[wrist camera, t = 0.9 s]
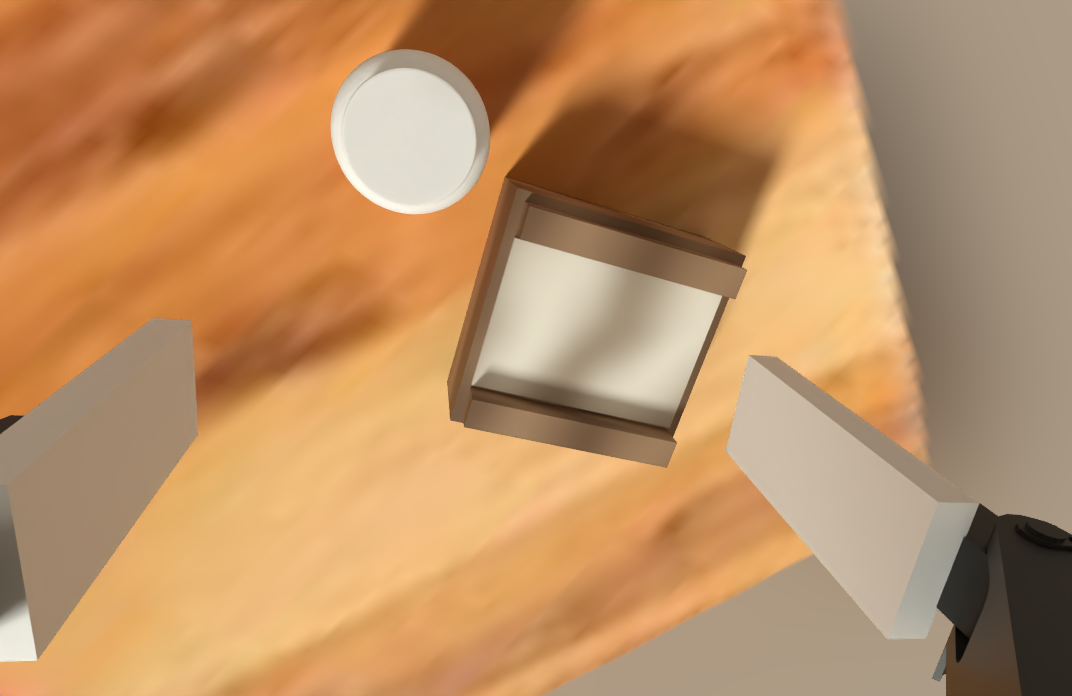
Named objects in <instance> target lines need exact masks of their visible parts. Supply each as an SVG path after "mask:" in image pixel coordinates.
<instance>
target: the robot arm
mask: <svg viewBox="0 0 1072 696" xmlns="http://www.w3.org/2000/svg"><path fill="white" fill-rule="evenodd" d="M197 435H198V421H197V404H196V388H195V371H194V354H193V337H192V321H191V320H175V319H159V318H153V319H151V320H150V321H149V322H147V323H146V324H145V325H143V326H142V327H141V328H140V329H138V330H137V331H136V332H134V333H133V334H132V335H130V336H129V337H128V338H126V339H125V340H124V341H122V342H121V343H120V344H118V345H117V346H116V347H114V348H113V349H112V350H111V351H109V352H108V353H107V354H105V355H104V356H103V357H101V358H100V359H99V360H97V361H96V362H95V363H93V364H92V365H91V366H89V367H88V368H87V369H86V370H84V371H83V372H82V373H80V374H79V375H78V376H76V377H75V378H74V379H72V380H71V381H70V382H68V383H67V384H66V385H64V386H63V387H62V388H61V389H59V390H58V391H57V392H55V393H54V394H53V395H51V396H50V397H49V398H47V399H46V400H45V401H43V402H42V403H41V404H39V405H38V406H37V407H36V408H34V409H33V410H32V411H30V412H29V413H28V414H26V415H25V416H14V415H10V416H8V417H5V418H3V419H0V661H37V660H38V659H39V657H40V656H41V655H42V653H43V652H44V650H45V649H46V648H47V646H48V645H49V643H50V642H51V640H52V639H53V638H54V636H55V635H56V633H57V632H58V631H59V629H60V628H61V626H62V625H63V624H64V622H65V621H66V619H67V618H68V617H69V615H70V614H71V612H72V611H73V610H74V608H75V607H76V605H77V604H78V603H79V601H80V600H81V598H82V597H83V595H84V594H85V593H86V591H87V590H88V588H89V587H90V586H91V584H92V583H93V581H94V580H95V579H96V577H97V576H98V574H99V573H100V572H101V570H102V569H103V567H104V566H105V565H106V563H107V562H108V560H109V559H110V557H111V556H112V555H113V553H114V552H115V550H116V549H117V548H118V546H119V545H120V543H121V542H122V541H123V539H124V538H125V536H126V535H127V534H128V532H129V531H130V529H131V528H132V527H133V525H134V524H135V522H136V521H137V520H138V518H139V517H140V515H141V514H142V512H143V511H144V510H145V508H146V507H147V505H148V504H149V503H150V501H151V500H152V498H153V497H154V496H155V494H156V493H157V491H158V490H159V489H160V487H161V486H162V484H163V483H164V482H165V480H166V479H167V477H168V476H169V474H170V473H171V472H172V470H173V469H174V467H175V466H176V465H177V463H178V462H179V460H180V459H181V458H182V456H183V455H184V453H185V452H186V451H187V449H188V448H189V446H190V445H191V444H192V442H193V441H194V439H195V438H196V437H197ZM726 452H727V453H728V455H729V456H730V457H731V458H732V459H733V460H734V462H735V463H736V464H737V465H738V466H739V467H740V468H741V470H742V471H743V472H744V473H745V474H746V475H747V477H748V478H749V479H750V480H751V481H752V482H753V484H754V485H755V486H756V487H757V488H758V489H759V491H760V492H761V493H762V494H763V495H764V496H765V498H766V499H767V500H768V501H769V502H770V503H771V505H772V506H773V507H774V508H775V509H776V510H777V512H778V513H779V514H780V515H781V516H782V517H783V519H784V520H785V521H786V522H787V523H788V524H789V525H790V527H791V528H792V529H793V530H794V531H795V532H796V534H797V535H798V536H799V537H800V538H801V539H802V541H803V542H804V543H805V544H806V545H807V546H808V548H809V549H810V550H811V551H812V552H813V553H814V555H815V556H816V557H817V558H818V559H819V560H820V562H821V563H822V564H823V565H824V566H825V567H826V568H827V570H828V571H829V572H830V573H831V574H832V575H833V577H834V578H835V579H836V580H837V581H838V582H839V584H840V585H841V586H842V587H843V588H844V589H845V591H846V592H847V593H848V594H849V595H850V596H851V598H852V599H853V600H854V601H855V602H856V603H857V605H858V606H859V607H860V608H861V609H862V610H863V612H864V613H865V614H866V615H867V616H868V617H869V619H870V620H871V621H872V622H873V623H874V624H875V626H876V627H877V628H878V629H879V630H880V631H881V632H882V634H883V635H884V636H885V637H886V638H887V639H917V638H926V637H927V634H928V631H929V629H930V627H931V624H932V622H933V619H934V617H935V614H936V611H937V609H939V610H940V611H941V612H942V613H943V614H944V615H945V616H946V617H947V618H948V619H949V620H950V621H951V622H952V623H953V624H954V626H953V628H952V631H951V633H950V636H949V638H948V641H947V643H946V645H945V648H944V650H943V653H942V655H941V657H940V660H939V663H938V665H937V667H936V670H935V672H934V675H933V677H932V679H934V680H937V681H940V679H941V677H942V675H944V674H946V696H1072V535H1071V534H1069V533H1068V532H1066V531H1064V530H1062V529H1060V528H1058V527H1057V526H1055V525H1052V524H1049V523H1048V522H1045V521H1041V520H1038V519H1034V518H1030V517H1026V516H1022V515H1013V514H1006V515H1002V516H999V517H998V516H997V515H995V514H994V513H993V512H991V511H990V510H988V509H987V508H986V507H984V506H983V505H982V504H980V503H979V502H977V501H976V500H975V499H973V498H972V497H970V496H969V495H967V494H966V493H965V492H963V491H962V490H961V489H959V488H958V487H957V486H955V485H954V484H952V483H951V482H950V481H948V480H947V479H945V478H944V477H943V476H941V475H940V474H938V473H937V472H936V471H934V470H933V469H932V468H930V467H929V466H927V465H926V464H925V463H923V462H922V461H920V460H919V459H918V458H916V457H915V456H913V455H912V454H911V453H909V452H908V451H907V450H905V449H904V448H902V447H901V446H900V445H898V444H897V443H895V442H894V441H893V440H891V439H890V438H888V437H887V436H886V435H884V434H883V433H882V432H880V431H879V430H877V429H876V428H875V427H873V426H872V425H870V424H869V423H868V422H866V421H865V420H863V419H862V418H861V417H859V416H858V415H857V414H855V413H854V412H852V411H851V410H850V409H848V408H847V407H845V406H844V405H843V404H841V403H840V402H838V401H837V400H836V399H834V398H833V397H832V396H830V395H829V394H827V393H826V392H825V391H823V390H822V389H820V388H819V387H818V386H816V385H815V384H813V383H812V382H811V381H809V380H808V379H807V378H805V377H804V376H802V375H801V374H800V373H798V372H797V371H795V370H794V369H793V368H791V367H790V366H788V365H787V364H786V363H784V362H783V361H782V360H780V359H779V358H777V357H771V356H755V355H749V356H748V361H747V365H746V369H745V373H744V377H743V381H742V385H741V390H740V394H739V398H738V402H737V406H736V410H735V415H734V419H733V423H732V427H731V431H730V435H729V440H728V444H727V448H726Z"/></svg>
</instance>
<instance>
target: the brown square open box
mask: <svg viewBox="0 0 1072 696" xmlns="http://www.w3.org/2000/svg"><path fill="white" fill-rule="evenodd" d="M745 257H746V256H745V255H742V254H740V253H738V252H736V251H734V250H732V249H729V248H727V247H725V246H723V245H721V244H719V243H716V242H714V241H712V240H710V239H708V238H705V237H702V236H699V235H696V234H692V233H689V232H686V231H682V230H679V229H676V228H672V227H669V226H666V225H662V224H659V223H656V222H653V221H649V220H646V219H643V218H639V217H636V216H633V215H629V214H626V213H623V212H620V211H616V210H613V209H610V208H606V207H603V206H600V205H596V204H593V203H590V202H586V201H583V200H580V199H577V198H573V197H570V196H567V195H563V194H560V193H557V192H553V191H550V190H547V189H544V188H540V187H537V186H534V185H530V184H527V183H524V182H520V181H517V180H514V179H510V178H507V177H505V178H504V182H503V185H502V189H501V192H500V196H499V200H498V203H497V207H496V210H495V214H494V217H493V221H492V224H491V228H490V232H489V235H488V239H487V242H486V246H485V249H484V253H483V256H482V260H481V264H480V267H479V271H478V274H477V278H476V281H475V285H474V288H473V292H472V296H471V299H470V303H469V306H468V310H467V313H466V317H465V320H464V324H463V328H462V331H461V335H460V338H459V342H458V345H457V349H456V352H455V356H454V359H453V363H452V367H451V370H450V374H449V377H448V381H447V385H448V397H449V409H450V420H451V421H456V422H461V423H464V427H466V428H471V429H476V430H481V431H486V432H491V433H496V434H501V435H506V436H511V437H516V438H521V439H526V440H531V441H536V442H541V443H546V444H551V445H556V446H561V447H566V448H571V449H576V450H581V451H586V452H591V453H596V454H601V455H606V456H611V457H616V458H621V459H626V460H631V461H636V462H641V463H646V464H651V465H656V466H661V467H666V468H667V466H668V464H669V461H670V459H671V456H672V454H673V451H674V449H675V446H676V444H677V442H676V441H675V440H674V438H673V436H674V433H675V431H676V428H677V426H678V423H679V421H680V418H681V416H682V413H683V411H684V408H685V406H686V403H687V401H688V398H689V396H690V393H691V391H692V389H693V386H694V384H695V381H696V379H697V376H698V374H699V371H700V369H701V366H702V364H703V361H704V359H705V356H706V354H707V351H708V349H709V346H710V344H711V341H712V339H713V336H714V334H715V331H716V329H717V327H718V324H719V322H720V319H721V317H722V314H723V312H724V309H725V307H726V304H727V302H728V299H729V298H732V299H736V296H737V294H738V291H739V289H740V286H741V284H742V282H743V279H744V277H745V274H746V272H747V270H746V269H744V268H742V265H743V262H744V260H745Z"/></svg>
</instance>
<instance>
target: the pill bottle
mask: <svg viewBox="0 0 1072 696" xmlns="http://www.w3.org/2000/svg"><path fill="white" fill-rule="evenodd" d="M331 138H332V144H333V148H334V152H335V155H336V158H337V160H338V163H339V165H340V167H341V169H342V171H343V172H344V174H345V176H346V177H347V178H348V180H349V181H350V182H351V183H352V185H353V186H354V187H355V188H356V189H357V190H358V191H359V192H360V193H361V194H362V195H364V196H365V197H366V198H368V199H369V200H370V201H372V202H374V203H375V204H377V205H379V206H381V207H384V208H386V209H389V210H392V211H395V212H399V213H406V214H426V213H431V212H435V211H438V210H442V209H444V208H447V207H449V206H451V205H452V204H454V203H456V202H457V201H459V200H460V199H461V198H463V197H464V196H465V195H466V194H467V193H468V192H469V191H470V190H471V189H472V187H473V186H474V185H475V184H476V182H477V181H478V179H479V177H480V176H481V174H482V172H483V170H484V167H485V164H486V161H487V158H488V154H489V147H490V127H489V120H488V115H487V112H486V109H485V106H484V103H483V101H482V99H481V97H480V95H479V93H478V91H477V90H476V88H475V87H474V85H473V84H472V83H471V81H470V80H469V79H468V78H467V77H466V76H465V75H464V74H463V73H462V72H461V71H460V70H459V69H458V68H457V67H455V66H454V65H453V64H451V63H450V62H448V61H446V60H445V59H443V58H441V57H439V56H436V55H434V54H431V53H428V52H424V51H419V50H411V49H398V50H392V51H387V52H383V53H380V54H378V55H375V56H373V57H371V58H369V59H367V60H366V61H364V62H363V63H362V64H360V65H359V66H358V67H357V68H355V69H354V70H353V71H352V72H351V73H350V75H349V76H348V77H347V78H346V80H345V81H344V83H343V84H342V86H341V87H340V89H339V91H338V93H337V96H336V99H335V101H334V105H333V109H332V115H331Z"/></svg>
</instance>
